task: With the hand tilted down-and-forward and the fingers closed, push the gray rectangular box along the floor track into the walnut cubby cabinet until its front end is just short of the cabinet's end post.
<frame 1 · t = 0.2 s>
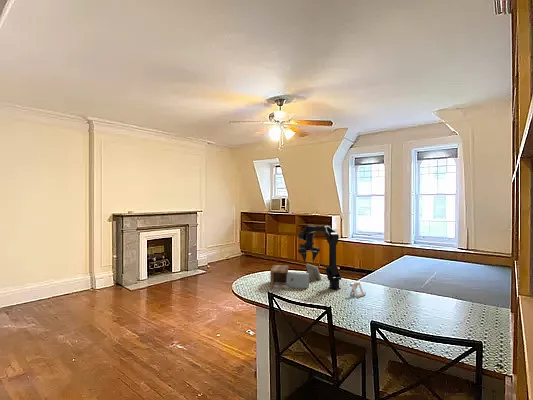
hand: (308, 261, 250), 15 cm above the breakfast bar, tool pointing down, fingers open, 9 cm apart
portable electronic device stand: (357, 295, 212), on the breakfast bar
cubby cabinet: (285, 286, 232), on the breakfast bar
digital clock: (313, 278, 256), on the breakfast bar
gray rectangular box: (297, 287, 231), on the breakfast bar
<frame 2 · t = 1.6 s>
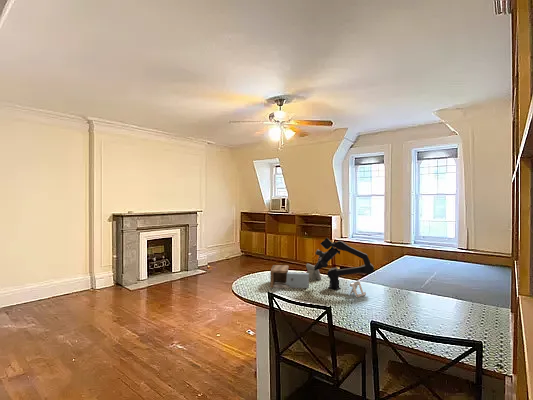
hand: (314, 268, 229), 14 cm above the breakfast bar, tool tilted 45°, fingers open, 6 cm apart
nothing on the breakfast bar moved.
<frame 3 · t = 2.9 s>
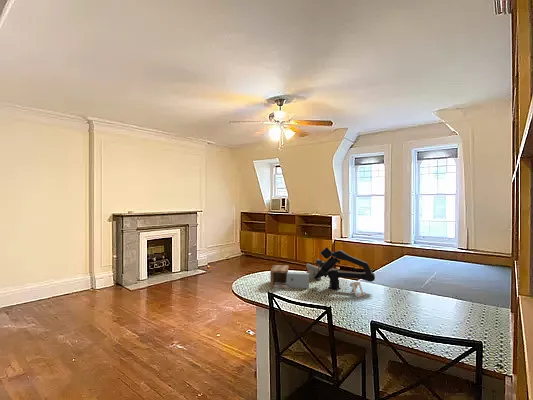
hand: (314, 278, 229), 7 cm above the breakfast bar, tool tilted 45°, fingers closed
nothing on the breakfast bar moved.
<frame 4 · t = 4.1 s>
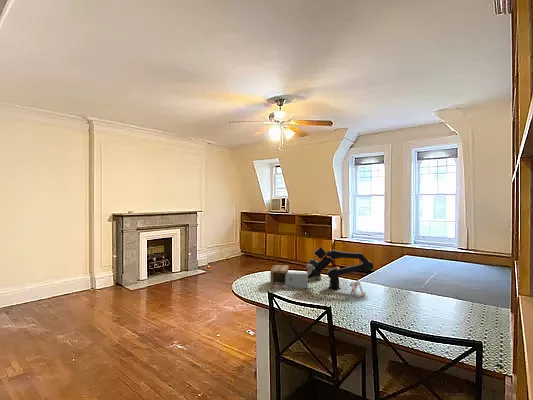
hand: (308, 277, 230), 7 cm above the breakfast bar, tool tilted 45°, fingers closed, pressing on gray rectangular box
gray rectangular box: (296, 286, 231), on the breakfast bar, touching gripper
everything else where it was.
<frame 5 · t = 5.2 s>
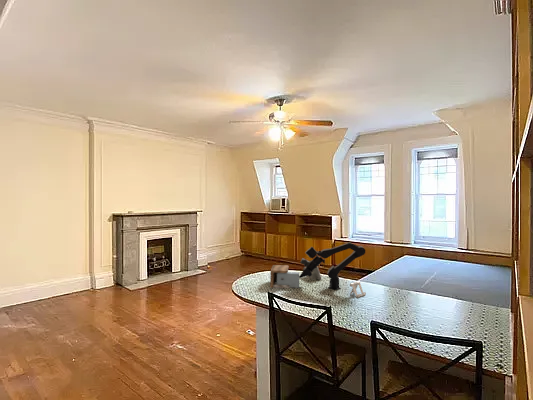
hand: (299, 277, 231), 7 cm above the breakfast bar, tool tilted 45°, fingers closed, pressing on gray rectangular box
gray rectangular box: (288, 286, 232), on the breakfast bar, touching gripper
everything else where it was.
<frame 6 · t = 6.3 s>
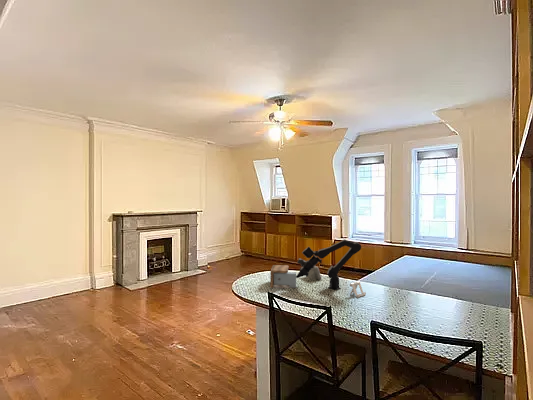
hand: (296, 277, 231), 7 cm above the breakfast bar, tool tilted 45°, fingers closed
gray rectangular box: (285, 286, 232), on the breakfast bar
everything else where it was.
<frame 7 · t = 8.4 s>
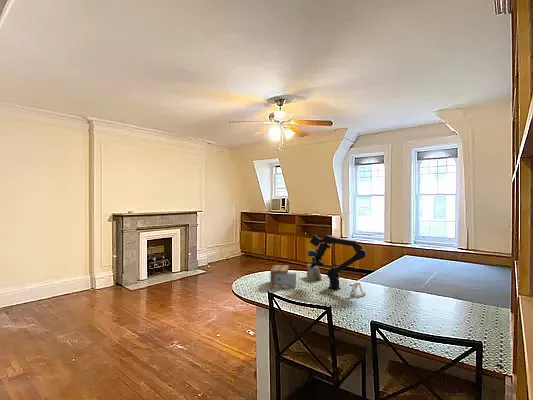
hand: (310, 267, 234), 13 cm above the breakfast bar, tool tilted 30°, fingers closed
nothing on the breakfast bar moved.
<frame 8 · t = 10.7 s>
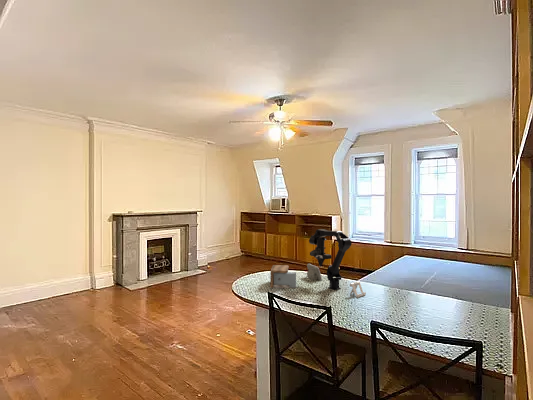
hand: (320, 266, 240), 13 cm above the breakfast bar, tool pointing down, fingers closed
nothing on the breakfast bar moved.
at the end: gray rectangular box 0.4 cm off-centre on the cubby cabinet, point 0.0 cm above the cubby cabinet's base; gray rectangular box tilted 0°; gray rectangular box moved 9.3 cm from its start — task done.
